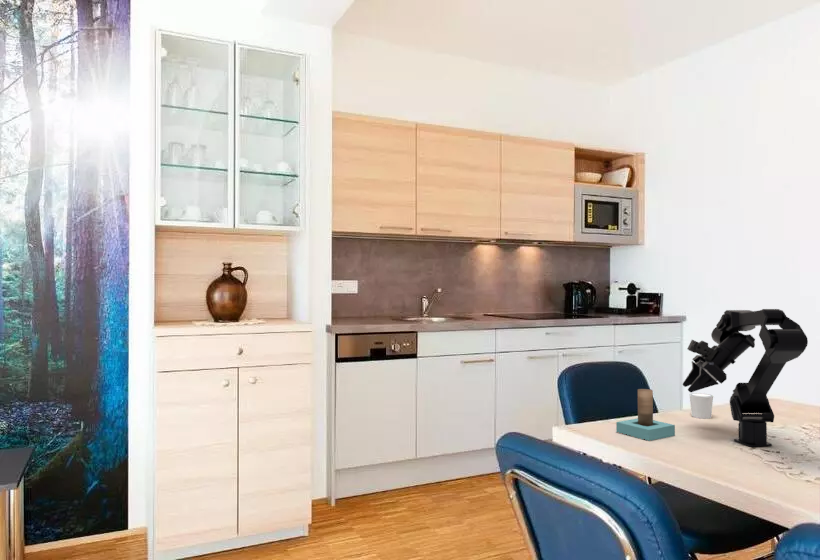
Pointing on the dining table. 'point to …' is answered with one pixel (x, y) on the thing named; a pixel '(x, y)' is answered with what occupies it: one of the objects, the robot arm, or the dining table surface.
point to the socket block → (645, 429)
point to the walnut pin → (645, 407)
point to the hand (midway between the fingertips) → (686, 388)
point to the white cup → (701, 405)
